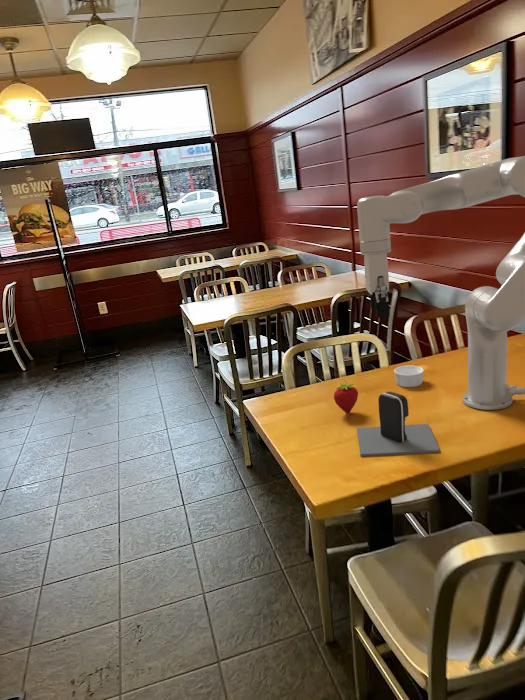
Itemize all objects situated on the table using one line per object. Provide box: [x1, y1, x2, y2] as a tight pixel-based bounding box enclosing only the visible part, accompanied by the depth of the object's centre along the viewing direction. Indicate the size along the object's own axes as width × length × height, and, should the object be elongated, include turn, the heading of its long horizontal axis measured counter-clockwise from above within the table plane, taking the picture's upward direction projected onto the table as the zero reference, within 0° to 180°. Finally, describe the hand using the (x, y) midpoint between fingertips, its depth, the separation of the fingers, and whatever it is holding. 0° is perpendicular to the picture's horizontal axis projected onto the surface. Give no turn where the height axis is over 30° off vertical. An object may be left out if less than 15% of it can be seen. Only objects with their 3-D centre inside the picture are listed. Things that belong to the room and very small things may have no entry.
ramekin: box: [393, 364, 425, 388], centre depth 161 cm, size 9×9×4 cm
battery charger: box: [378, 391, 409, 442], centre depth 126 cm, size 7×4×11 cm, turn 34°
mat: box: [356, 423, 441, 457], centre depth 127 cm, size 18×14×1 cm
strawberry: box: [333, 379, 359, 414], centre depth 144 cm, size 6×8×10 cm
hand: (380, 312), depth 136 cm, fingers open, 9 cm apart
